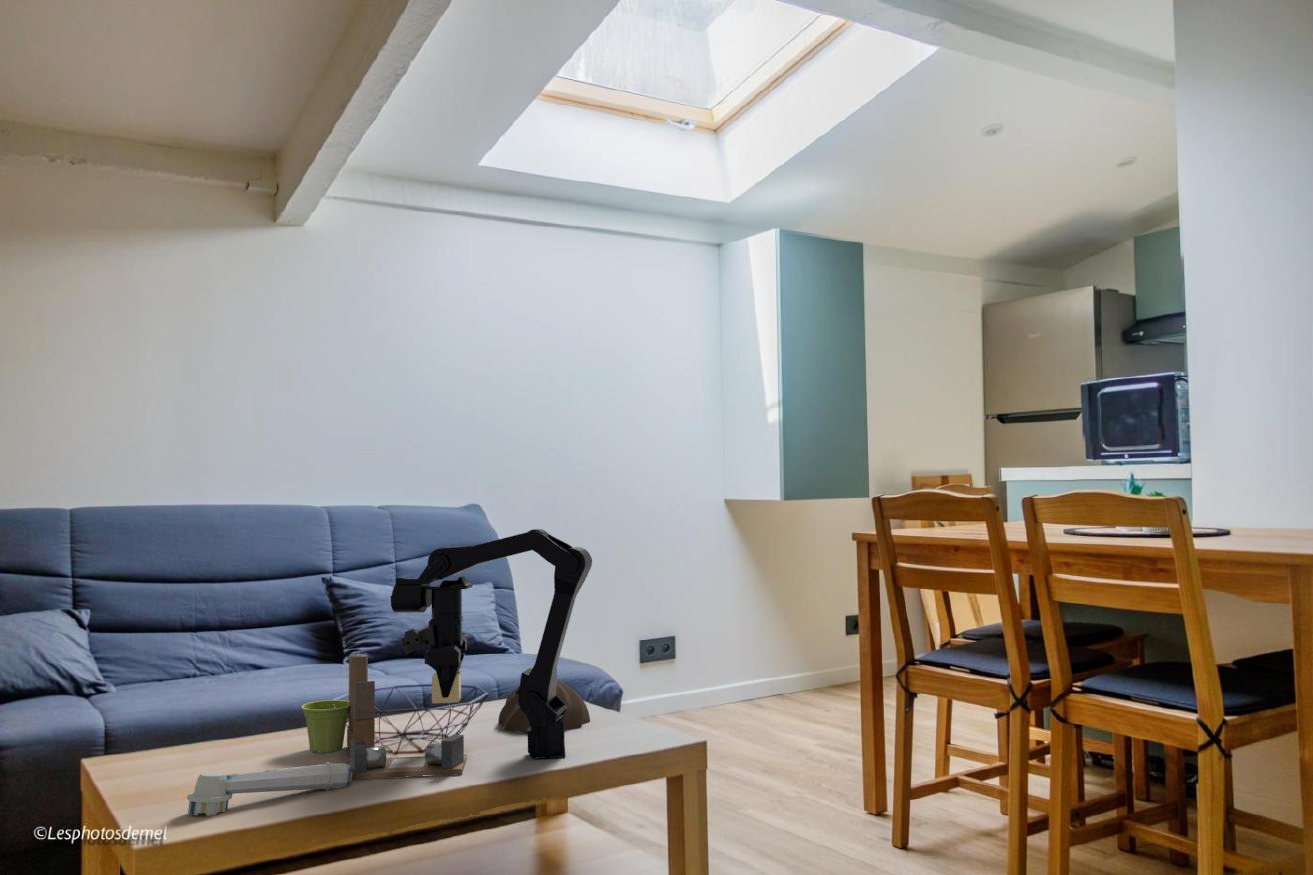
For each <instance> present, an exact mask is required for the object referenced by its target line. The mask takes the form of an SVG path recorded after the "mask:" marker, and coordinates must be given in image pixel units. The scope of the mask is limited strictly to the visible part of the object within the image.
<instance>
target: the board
mask: <svg viewBox="0 0 1313 875" xmlns="http://www.w3.org/2000/svg"><path fill="white" fill-rule="evenodd" d="M467 755H468V754H467V753H465V754H464V762H463V763H461V764H460V765H458V766H457V767H455V768H453V769H442V765H428V764H426V761H425V755H423V756H422V755H420V756H403V757H401V756H399V757H398V756H397V757H386V766H385V767H379V768H372V769H366V773H359V774H354V773H353V771H352V778H351V781H354V780H355V781H361V780H376V779H377V780H378V779H379V780H381V779H395V778H394V777H403V778H407V777H406V776H423V775H443V776H455V775H454V774H462V775H463V773H462V772H464V770H465V766H466V762H467V760H468V759H467ZM423 777H424V776H423Z"/></svg>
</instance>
